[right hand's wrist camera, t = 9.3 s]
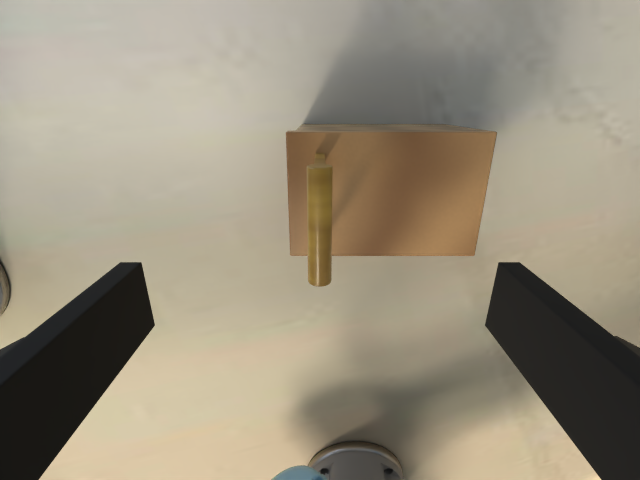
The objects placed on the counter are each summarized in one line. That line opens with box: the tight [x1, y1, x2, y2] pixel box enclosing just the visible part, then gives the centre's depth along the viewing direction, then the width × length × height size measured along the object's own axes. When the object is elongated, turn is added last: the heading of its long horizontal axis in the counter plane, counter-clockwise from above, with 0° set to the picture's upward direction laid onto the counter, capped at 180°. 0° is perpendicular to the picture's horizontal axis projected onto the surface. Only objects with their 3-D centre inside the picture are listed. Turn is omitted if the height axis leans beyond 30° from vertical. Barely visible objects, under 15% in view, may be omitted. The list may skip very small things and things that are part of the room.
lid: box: [286, 131, 497, 286], centre depth 23 cm, size 15×10×9 cm, turn 90°
